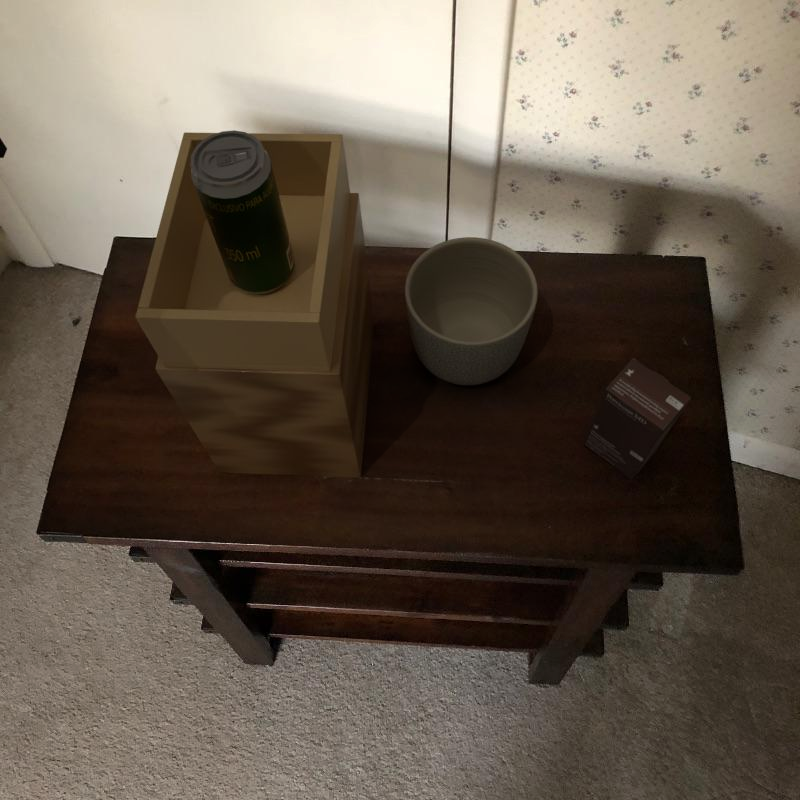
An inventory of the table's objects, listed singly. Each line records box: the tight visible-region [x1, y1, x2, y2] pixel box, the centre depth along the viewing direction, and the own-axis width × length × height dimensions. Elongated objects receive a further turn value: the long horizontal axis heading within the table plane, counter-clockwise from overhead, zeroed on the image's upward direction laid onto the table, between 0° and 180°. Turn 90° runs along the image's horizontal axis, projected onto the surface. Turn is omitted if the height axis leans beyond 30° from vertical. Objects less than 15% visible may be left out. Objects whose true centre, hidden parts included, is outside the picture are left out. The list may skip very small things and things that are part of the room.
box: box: [582, 357, 692, 481], centre depth 70 cm, size 6×4×12 cm
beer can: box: [190, 129, 294, 295], centre depth 56 cm, size 5×5×12 cm
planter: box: [404, 236, 539, 386], centre depth 76 cm, size 12×12×11 cm
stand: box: [154, 192, 375, 479], centre depth 70 cm, size 14×18×20 cm
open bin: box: [135, 132, 351, 372], centre depth 59 cm, size 13×18×7 cm
